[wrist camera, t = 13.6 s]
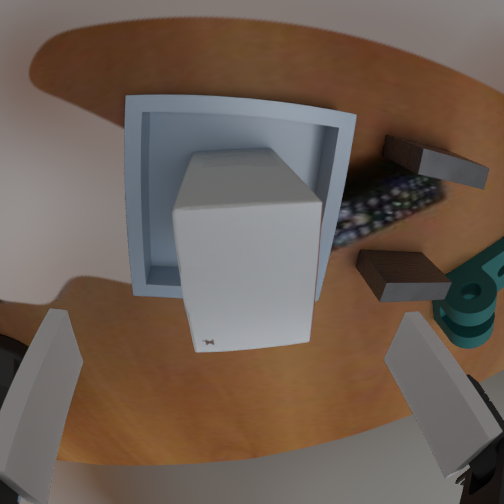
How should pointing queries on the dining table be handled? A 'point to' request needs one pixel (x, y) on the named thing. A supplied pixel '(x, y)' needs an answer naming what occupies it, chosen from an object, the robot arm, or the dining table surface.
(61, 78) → the dining table surface
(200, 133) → the tray
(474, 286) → the bracket
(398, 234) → the dining table surface
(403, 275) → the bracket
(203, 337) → the small box
